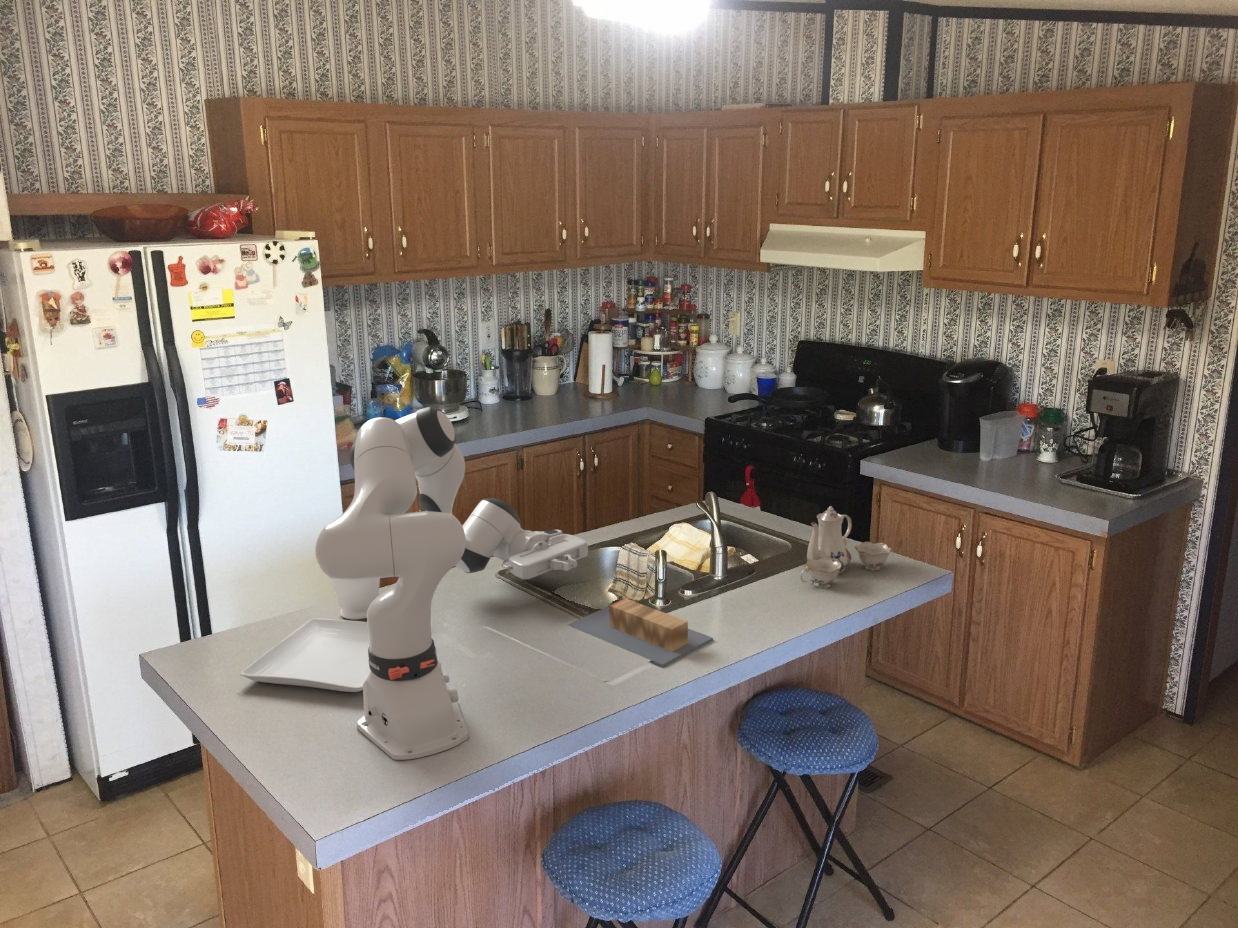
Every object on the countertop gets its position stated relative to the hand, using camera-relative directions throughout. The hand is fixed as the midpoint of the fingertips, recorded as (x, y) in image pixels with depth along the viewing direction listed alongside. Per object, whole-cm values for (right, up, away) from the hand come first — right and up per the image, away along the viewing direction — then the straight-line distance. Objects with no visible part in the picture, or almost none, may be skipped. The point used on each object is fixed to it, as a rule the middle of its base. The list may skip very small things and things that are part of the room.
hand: (572, 565), depth 230 cm
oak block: (+10, -9, -8) cm, 16 cm away
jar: (-49, -11, +3) cm, 50 cm away
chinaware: (+64, -4, +19) cm, 67 cm away
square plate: (-48, -19, -20) cm, 55 cm away
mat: (+15, -13, -11) cm, 23 cm away
